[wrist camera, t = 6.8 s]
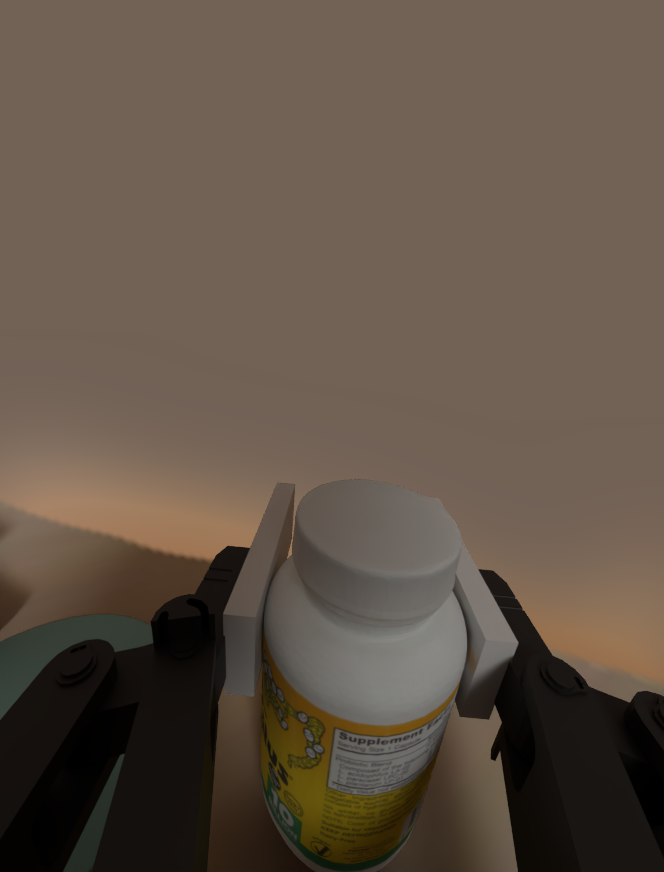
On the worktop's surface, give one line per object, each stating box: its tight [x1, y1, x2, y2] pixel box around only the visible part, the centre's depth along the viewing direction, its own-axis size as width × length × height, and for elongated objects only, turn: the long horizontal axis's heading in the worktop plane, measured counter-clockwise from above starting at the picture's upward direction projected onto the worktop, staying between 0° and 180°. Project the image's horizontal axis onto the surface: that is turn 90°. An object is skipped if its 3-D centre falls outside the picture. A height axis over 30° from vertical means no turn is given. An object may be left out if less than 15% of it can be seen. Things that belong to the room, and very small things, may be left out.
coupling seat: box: [0, 614, 153, 872], centre depth 11 cm, size 10×10×1 cm
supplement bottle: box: [260, 479, 467, 872], centre depth 9 cm, size 5×5×10 cm
